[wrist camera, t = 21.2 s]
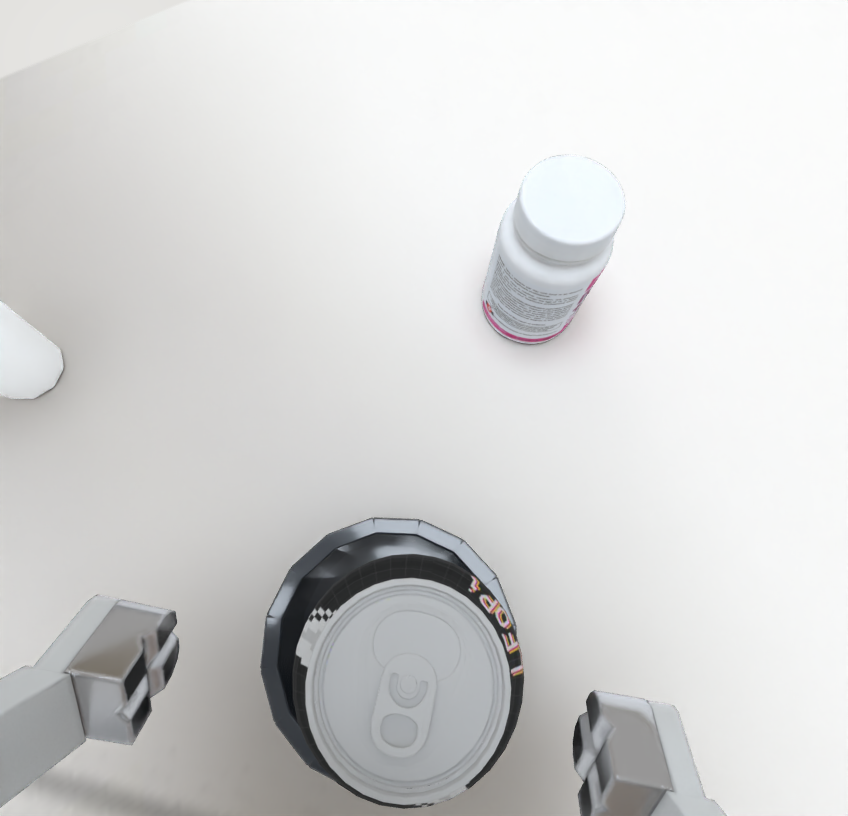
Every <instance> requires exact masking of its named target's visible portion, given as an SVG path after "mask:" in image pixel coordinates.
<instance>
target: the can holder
mask: <svg viewBox="0 0 848 816" xmlns="http://www.w3.org/2000/svg"><path fill="white" fill-rule="evenodd" d="M401 554H419V555H427V556H434V557H437V558H440V559H443V560H445V561H448V562H451V563H454V564H456V565H457V566H459V567H461V568H462V569H464V570H466V571H467V572H469V573H471V574H473V575H474V576H475V577H476V578H477V579H478V580H479V581H481V582H482V583H483V584H484V585H485V586H486V587H487V588H488V589H489V590H490V591H491V592H492V593H493V595H494V596H495V597H496V599H497V600H498V601H499V603H500V604H501V605H502V607H503V608H504V610H505V611H506V613H507V615H508V617H509V619H510V621H511V623H512V625H513V627H514V629H515V633H516V625H515V620H514V618H513V615H512V613H511V610H510V607H509V605H508V602H507V600H506V597H505V595H504V592H503V589H502V587H501V584H500V582H499V579H498V578H497V575H496V574H495V573H494V572H493V571H492V570H491V569H490V568H489V567H488V565H487V564H486V563H485V562H484V561H483V560H482V559H481V558H480V557H479V556H478V555H477V553H476V552H475V551H474V550H473V549H472V548H471V547H470V546H469V545H468V544H467V543H466V542H465V541H464V540H463V539H461V538H459V537H457V536H455V535H453V534H451V533H448V532H446V531H444V530H442V529H440V528H438V527H436V526H434V525H431V524H429V523H427V522H425V521H423V520H419V519H400V518H370V519H367V520H365V521H362V522H359V523H356V524H354V525H351V526H348V527H346V528H343V529H340V530H337V531H335V532H332V533H329V534H328V535H326V536H325V537H324V538H323V539H322V540H321V541H319V542H318V543H317V544H316V545H315V546H314V547H313V548H312V549H311V550H309V551H308V552H307V553H306V554H305V555H304V556H303V557H302V558H301V559H299V560H298V561H297V562H296V563H295V564H294V565H293V566H292V567H291V569H290V570H289V571H288V573H287V575H286V577H285V579H284V581H283V583H282V585H281V587H280V589H279V591H278V593H277V595H276V597H275V599H274V601H273V603H272V605H271V607H270V609H269V611H268V613H267V615H268V616H266V621H265V630H264V639H263V648H262V657H261V666H260V668H261V675H262V678H263V682H264V686H265V690H266V693H267V697H268V701H269V705H270V709H271V712H272V716H273V720H274V722H276V723H275V724H276V726H277V727H278V728H279V730H280V731H281V732H282V734H283V735H284V736H285V738H286V739H287V740H288V741H289V743H290V744H291V745H292V747H293V748H294V749H295V750H296V752H297V753H298V754H299V756H300V757H301V758H302V760H303V761H304V762H305V763H306V765H309V767H310V768H311V769H313V770H315V771H317V772H319V773H321V774H323V775H325V776H327V777H328V778H330V779H332V780H334V779H333V778H332V777H331V776H330V775H329V774H328V773H327V772H326V771H325V770H324V769H323V768H322V767H321V766H320V764H319V763H318V761H317V759H316V758H315V756H314V755H313V753H312V752H311V750H310V748H309V747H308V745H307V744H306V741H305V739H304V736H303V733H302V731H301V728H300V726H299V723H298V721H297V716H296V710H295V705H294V700H293V666H294V660H295V654H296V649H297V644H298V642H299V639H300V637H301V634H302V631H303V629H304V626H305V623H306V621H307V620H308V618H309V616H310V615H311V613H312V611H313V610H314V608H315V606H316V604H317V603H318V601H319V600H320V599H321V598H322V597H323V596H324V595H325V593H326V592H327V591H328V590H329V589H330V588H331V587H332V585H333V584H335V583H336V582H337V581H339V580H340V579H341V578H342V577H344V576H345V575H346V574H348V573H349V572H350V571H352V570H354V569H356V568H358V567H360V566H362V565H364V564H366V563H368V562H370V561H372V560H376V559H379V558H383V557H387V556H390V555H401ZM334 781H335V780H334Z"/></svg>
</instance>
